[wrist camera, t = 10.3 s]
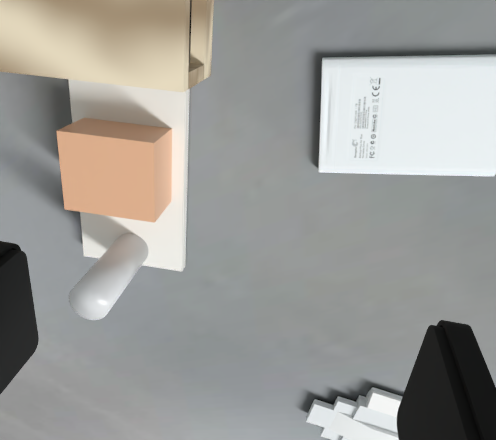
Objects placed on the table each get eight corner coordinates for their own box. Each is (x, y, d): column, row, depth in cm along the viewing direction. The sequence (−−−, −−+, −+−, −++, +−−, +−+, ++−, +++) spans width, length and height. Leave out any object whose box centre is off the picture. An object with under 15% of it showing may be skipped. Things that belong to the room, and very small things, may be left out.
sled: (70, 24, 34) (-11, 31, 26) (190, 36, 33) (145, 47, 25) (89, 250, 42) (32, 309, 34) (185, 265, 41) (149, 330, 33)
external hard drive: (488, 170, 34) (318, 167, 36) (511, 52, 31) (322, 56, 32) (495, 177, 33) (318, 174, 34) (520, 55, 29) (322, 58, 31)
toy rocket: (295, 433, 48) (294, 452, 46) (326, 366, 44) (326, 384, 42) (442, 480, 48) (448, 501, 46) (488, 417, 44) (496, 437, 42)
